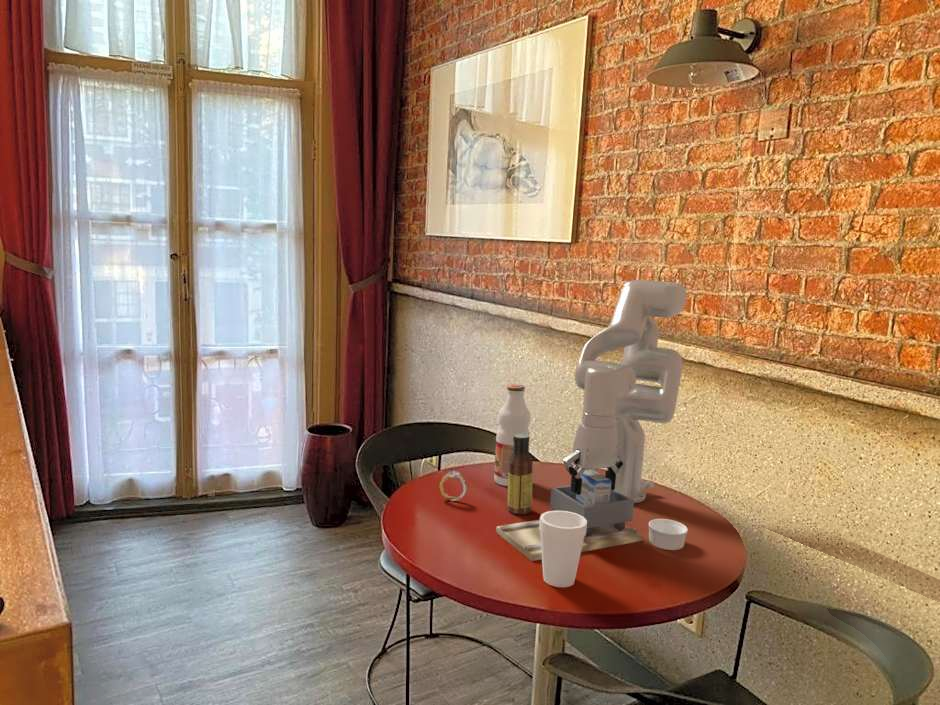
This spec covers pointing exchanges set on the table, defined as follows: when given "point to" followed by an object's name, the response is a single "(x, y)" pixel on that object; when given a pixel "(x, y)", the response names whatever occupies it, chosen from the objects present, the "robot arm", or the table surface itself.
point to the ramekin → (667, 534)
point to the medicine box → (594, 489)
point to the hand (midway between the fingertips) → (592, 490)
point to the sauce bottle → (520, 476)
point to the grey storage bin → (594, 508)
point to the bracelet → (453, 475)
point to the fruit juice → (510, 430)
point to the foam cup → (561, 546)
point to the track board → (529, 540)
